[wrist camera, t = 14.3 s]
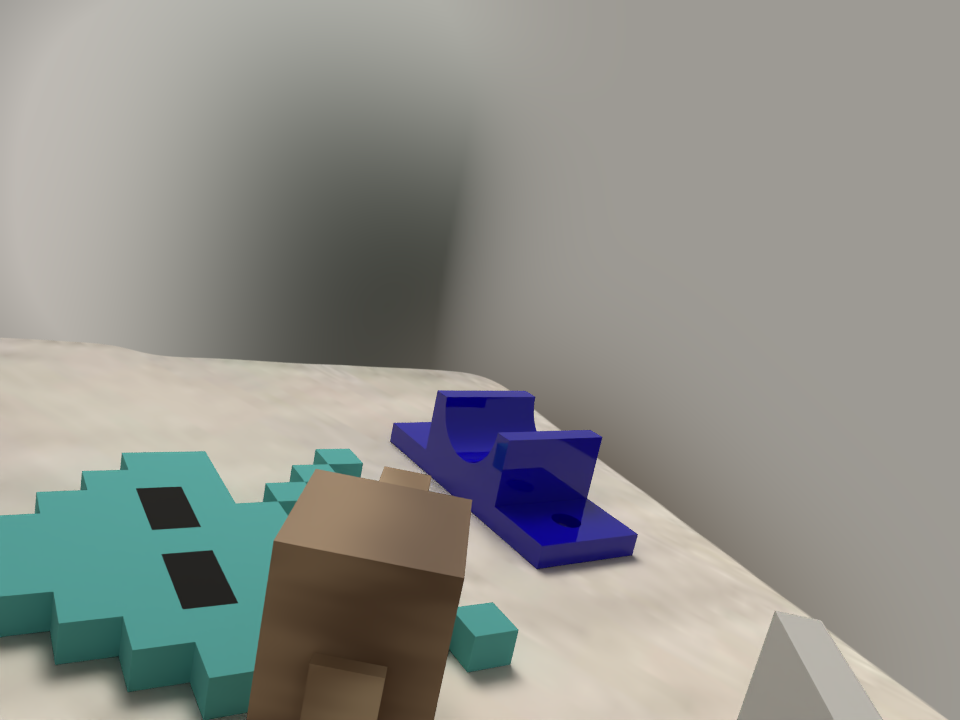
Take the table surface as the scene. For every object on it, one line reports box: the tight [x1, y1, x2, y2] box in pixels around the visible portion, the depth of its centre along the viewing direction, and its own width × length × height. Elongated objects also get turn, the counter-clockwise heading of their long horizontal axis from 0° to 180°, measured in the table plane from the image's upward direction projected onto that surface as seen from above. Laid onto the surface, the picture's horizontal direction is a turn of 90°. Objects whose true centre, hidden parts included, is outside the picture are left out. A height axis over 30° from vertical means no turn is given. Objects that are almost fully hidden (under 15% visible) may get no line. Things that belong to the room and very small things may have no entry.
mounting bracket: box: [390, 391, 638, 569], centre depth 56 cm, size 18×7×6 cm, turn 33°
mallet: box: [246, 467, 472, 720], centre depth 30 cm, size 5×14×11 cm, turn 178°
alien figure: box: [0, 449, 518, 720], centre depth 41 cm, size 20×2×20 cm
